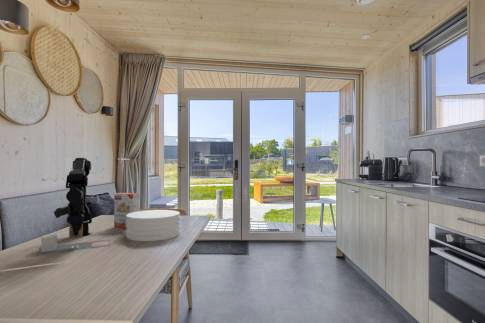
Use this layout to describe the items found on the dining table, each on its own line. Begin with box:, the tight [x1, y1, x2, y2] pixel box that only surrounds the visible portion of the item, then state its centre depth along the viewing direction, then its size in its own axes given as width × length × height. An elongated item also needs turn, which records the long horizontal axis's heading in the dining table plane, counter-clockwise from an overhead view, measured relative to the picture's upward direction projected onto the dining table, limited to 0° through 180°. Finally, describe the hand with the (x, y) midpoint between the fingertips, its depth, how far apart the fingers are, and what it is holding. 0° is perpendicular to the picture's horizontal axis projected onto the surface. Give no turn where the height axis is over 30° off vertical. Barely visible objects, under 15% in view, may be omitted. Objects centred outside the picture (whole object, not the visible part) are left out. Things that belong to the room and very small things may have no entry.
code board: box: [35, 239, 111, 256], centre depth 124 cm, size 28×12×1 cm, turn 119°
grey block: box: [40, 233, 58, 252], centre depth 120 cm, size 5×5×6 cm
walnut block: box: [68, 223, 83, 239], centre depth 124 cm, size 5×5×6 cm
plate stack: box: [125, 209, 181, 242], centre depth 151 cm, size 28×28×12 cm
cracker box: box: [113, 192, 140, 229], centre depth 168 cm, size 14×6×21 cm, turn 73°
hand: (76, 234), depth 124 cm, fingers closed on walnut block, 5 cm apart
